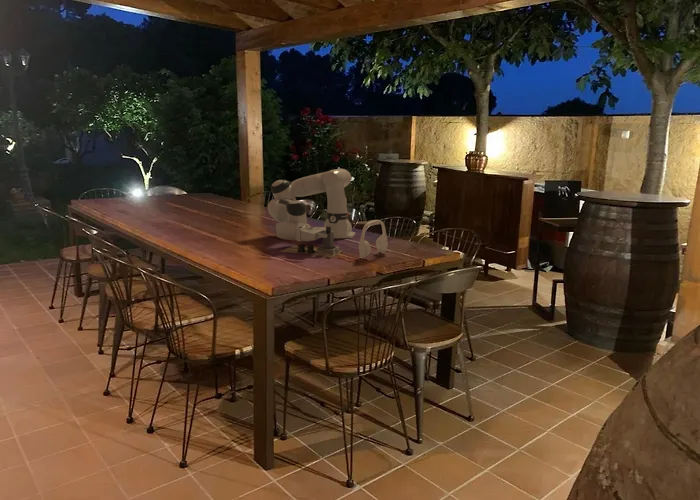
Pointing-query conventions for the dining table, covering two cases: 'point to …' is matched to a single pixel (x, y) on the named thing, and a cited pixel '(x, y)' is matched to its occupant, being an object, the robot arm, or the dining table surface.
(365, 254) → the headset
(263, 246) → the dining table surface
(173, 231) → the dining table surface
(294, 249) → the cable board
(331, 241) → the grey square bottle
